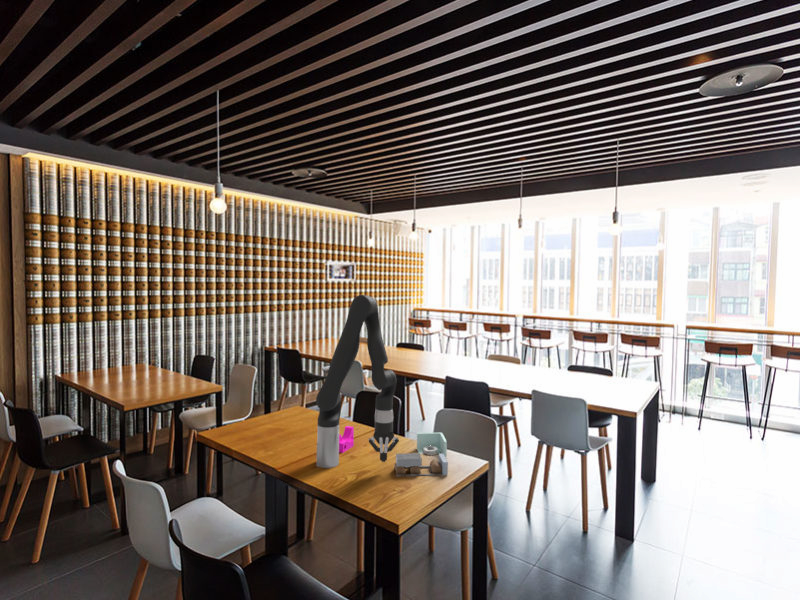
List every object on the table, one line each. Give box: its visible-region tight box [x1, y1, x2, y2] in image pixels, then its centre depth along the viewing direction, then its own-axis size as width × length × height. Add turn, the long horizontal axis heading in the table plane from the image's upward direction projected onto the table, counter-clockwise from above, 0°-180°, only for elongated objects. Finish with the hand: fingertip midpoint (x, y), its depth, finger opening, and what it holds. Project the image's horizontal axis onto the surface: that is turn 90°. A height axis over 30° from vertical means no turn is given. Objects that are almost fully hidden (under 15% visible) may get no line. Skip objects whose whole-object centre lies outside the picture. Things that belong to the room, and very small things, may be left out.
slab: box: [395, 452, 423, 467], centre depth 179 cm, size 10×6×3 cm, turn 96°
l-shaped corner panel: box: [416, 432, 448, 458], centre depth 202 cm, size 12×12×8 cm
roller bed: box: [394, 459, 443, 477], centre depth 180 cm, size 19×8×4 cm, turn 96°
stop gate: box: [437, 453, 449, 476], centre depth 181 cm, size 2×9×6 cm, turn 6°
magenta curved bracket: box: [339, 425, 355, 454], centre depth 207 cm, size 15×6×8 cm, turn 158°
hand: (383, 461), depth 178 cm, fingers closed
